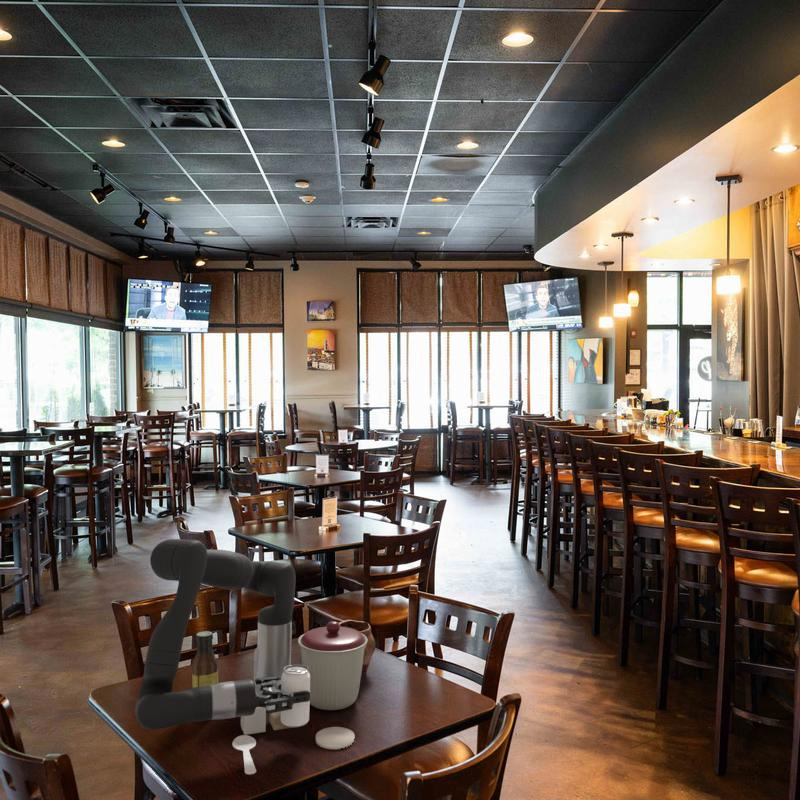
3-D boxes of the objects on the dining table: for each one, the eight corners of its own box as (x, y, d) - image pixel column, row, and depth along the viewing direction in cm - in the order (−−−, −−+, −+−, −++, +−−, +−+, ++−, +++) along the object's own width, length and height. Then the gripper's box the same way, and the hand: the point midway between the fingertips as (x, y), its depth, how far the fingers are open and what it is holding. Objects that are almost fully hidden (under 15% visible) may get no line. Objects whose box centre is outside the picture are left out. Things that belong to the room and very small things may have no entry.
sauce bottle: (223, 709, 185) (224, 631, 185) (209, 720, 180) (210, 639, 179) (200, 705, 188) (202, 628, 187) (186, 715, 182) (187, 635, 181)
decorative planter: (388, 682, 205) (389, 633, 205) (348, 690, 199) (349, 639, 199) (357, 659, 223) (358, 613, 222) (319, 665, 217) (320, 618, 217)
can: (303, 729, 164) (304, 676, 163) (276, 726, 165) (277, 673, 165) (312, 716, 170) (314, 665, 170) (286, 713, 171) (287, 662, 171)
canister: (282, 702, 190) (283, 621, 190) (332, 682, 204) (334, 607, 204) (330, 724, 179) (332, 638, 178) (380, 702, 192) (382, 621, 192)
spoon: (238, 777, 154) (238, 775, 154) (230, 738, 171) (230, 736, 171) (263, 773, 156) (264, 771, 156) (254, 735, 173) (254, 733, 173)
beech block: (274, 730, 175) (274, 705, 175) (269, 721, 180) (270, 697, 180) (294, 727, 177) (295, 702, 177) (289, 718, 181) (290, 694, 181)
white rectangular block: (244, 735, 172) (244, 709, 172) (240, 725, 177) (241, 701, 177) (265, 731, 174) (266, 706, 174) (261, 722, 179) (261, 698, 179)
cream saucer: (309, 745, 168) (309, 741, 168) (325, 728, 176) (325, 724, 176) (345, 752, 165) (345, 747, 165) (360, 734, 174) (360, 730, 174)
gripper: (237, 695, 155) (314, 685, 161) (227, 670, 168) (298, 661, 175) (236, 731, 155) (313, 719, 161) (226, 702, 169) (297, 693, 175)
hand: (305, 689), depth 168 cm, fingers closed on can, 6 cm apart
